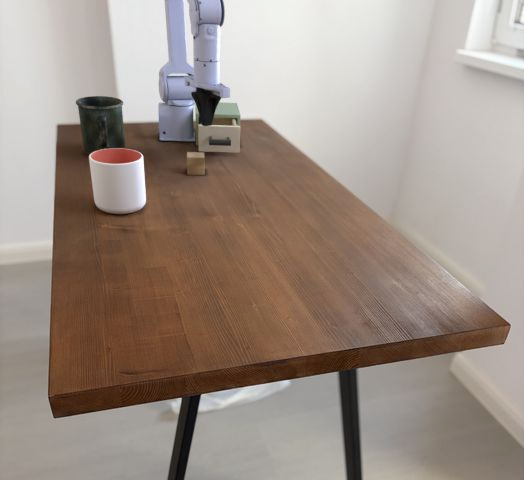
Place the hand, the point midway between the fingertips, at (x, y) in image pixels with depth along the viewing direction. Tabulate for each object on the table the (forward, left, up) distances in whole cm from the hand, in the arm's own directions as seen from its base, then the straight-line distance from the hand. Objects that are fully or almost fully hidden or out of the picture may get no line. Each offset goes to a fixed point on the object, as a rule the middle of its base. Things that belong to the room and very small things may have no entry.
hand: (206, 125), depth 127 cm
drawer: (+3, +12, -9) cm, 15 cm away
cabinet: (+3, +23, -9) cm, 25 cm away
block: (-3, -5, -9) cm, 11 cm away
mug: (-25, +6, -10) cm, 27 cm away
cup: (-18, -27, -10) cm, 33 cm away
